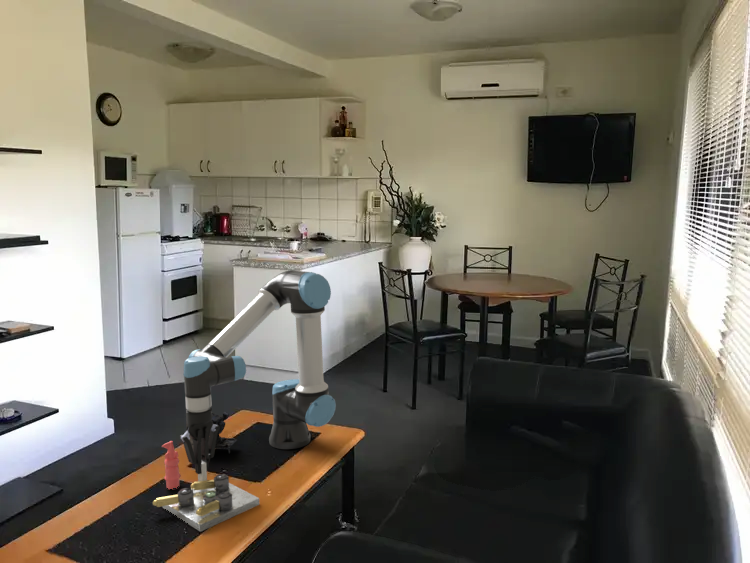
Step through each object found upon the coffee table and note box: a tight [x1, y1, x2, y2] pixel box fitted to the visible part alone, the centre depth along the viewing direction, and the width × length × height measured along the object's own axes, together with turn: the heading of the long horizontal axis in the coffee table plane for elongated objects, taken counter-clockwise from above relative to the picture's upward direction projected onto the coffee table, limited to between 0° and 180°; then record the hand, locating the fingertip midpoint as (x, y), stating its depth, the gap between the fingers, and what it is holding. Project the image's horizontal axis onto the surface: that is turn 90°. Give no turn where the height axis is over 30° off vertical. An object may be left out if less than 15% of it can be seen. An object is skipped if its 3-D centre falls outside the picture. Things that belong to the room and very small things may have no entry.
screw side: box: [196, 492, 232, 516], centre depth 176 cm, size 11×4×4 cm, turn 138°
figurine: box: [161, 440, 182, 490], centre depth 195 cm, size 5×5×15 cm
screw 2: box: [189, 473, 230, 491], centre depth 189 cm, size 11×4×4 cm, turn 103°
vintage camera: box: [185, 408, 238, 454], centre depth 222 cm, size 10×16×20 cm, turn 78°
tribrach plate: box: [162, 482, 260, 532], centre depth 183 cm, size 20×20×4 cm
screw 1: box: [152, 487, 194, 508], centre depth 180 cm, size 11×4×4 cm, turn 111°
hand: (202, 482), depth 191 cm, fingers closed
